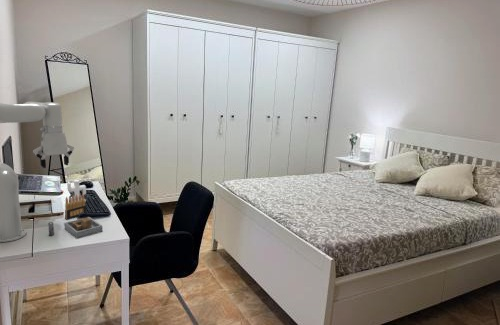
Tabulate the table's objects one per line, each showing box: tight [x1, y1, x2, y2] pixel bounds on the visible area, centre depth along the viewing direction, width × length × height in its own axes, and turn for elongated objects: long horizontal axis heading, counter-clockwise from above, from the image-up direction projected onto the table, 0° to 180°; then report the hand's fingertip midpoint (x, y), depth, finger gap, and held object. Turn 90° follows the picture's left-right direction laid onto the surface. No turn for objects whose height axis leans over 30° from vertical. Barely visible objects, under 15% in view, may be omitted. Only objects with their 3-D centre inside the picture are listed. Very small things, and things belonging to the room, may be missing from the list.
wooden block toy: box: [72, 216, 92, 231], centre depth 167 cm, size 6×10×6 cm, turn 48°
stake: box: [47, 221, 55, 237], centre depth 160 cm, size 2×2×6 cm
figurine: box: [66, 179, 87, 203], centre depth 196 cm, size 7×9×15 cm
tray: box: [63, 216, 104, 239], centre depth 168 cm, size 12×14×3 cm
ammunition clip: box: [64, 193, 87, 221], centre depth 182 cm, size 11×2×12 cm, turn 147°
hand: (55, 166), depth 164 cm, fingers open, 9 cm apart
